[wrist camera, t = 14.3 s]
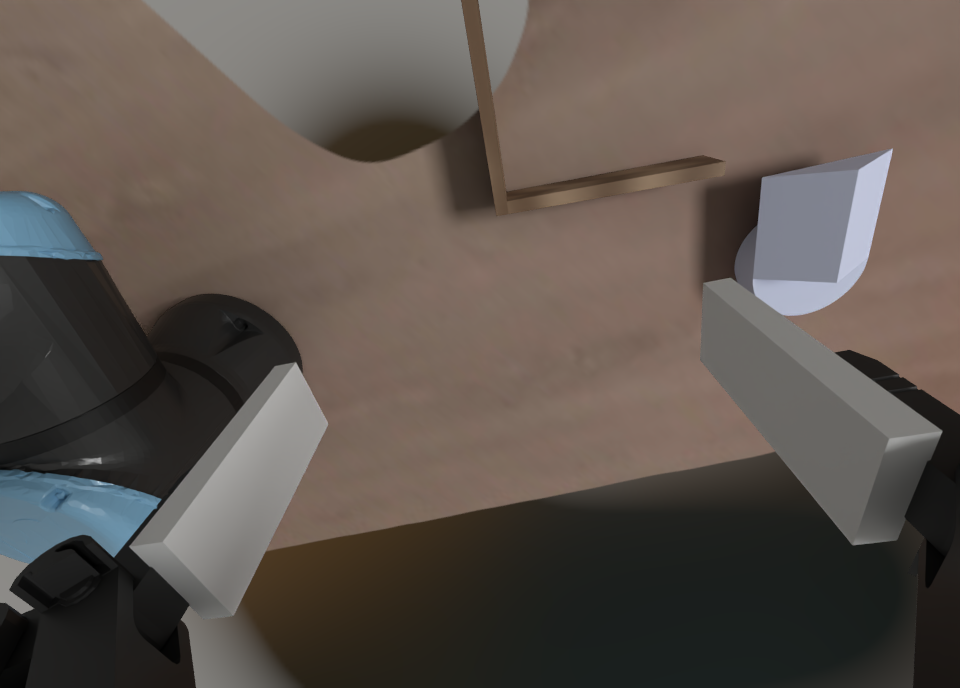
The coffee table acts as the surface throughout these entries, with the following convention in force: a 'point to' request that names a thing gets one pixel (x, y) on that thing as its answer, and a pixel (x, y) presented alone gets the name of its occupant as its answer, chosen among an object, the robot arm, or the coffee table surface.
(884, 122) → the coffee table surface
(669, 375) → the coffee table surface
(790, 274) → the wedge on round base
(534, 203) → the shelf bay
